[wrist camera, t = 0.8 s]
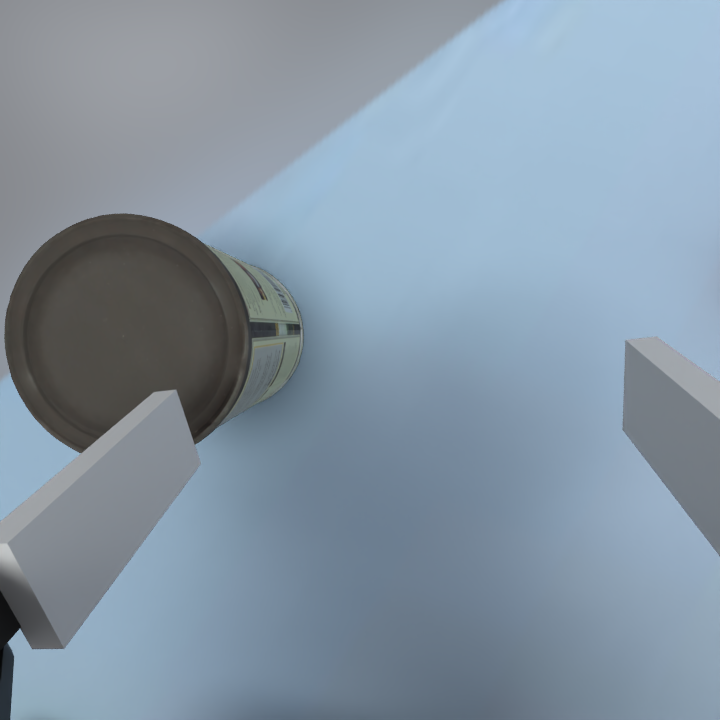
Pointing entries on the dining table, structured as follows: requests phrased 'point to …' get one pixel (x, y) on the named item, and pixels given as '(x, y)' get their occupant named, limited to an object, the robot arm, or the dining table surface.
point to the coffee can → (144, 328)
